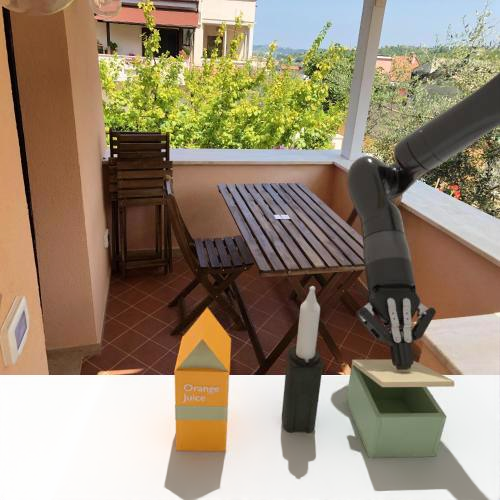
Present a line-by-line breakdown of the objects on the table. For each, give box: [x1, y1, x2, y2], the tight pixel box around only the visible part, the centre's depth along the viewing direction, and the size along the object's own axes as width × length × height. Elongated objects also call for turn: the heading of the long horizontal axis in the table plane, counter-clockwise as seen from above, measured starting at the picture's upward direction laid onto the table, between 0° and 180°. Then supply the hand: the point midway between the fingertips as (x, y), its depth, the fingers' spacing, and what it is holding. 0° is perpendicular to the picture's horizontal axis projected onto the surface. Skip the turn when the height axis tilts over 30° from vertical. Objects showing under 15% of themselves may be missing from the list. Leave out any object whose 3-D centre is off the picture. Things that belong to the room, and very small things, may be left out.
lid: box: [351, 359, 455, 388], centre depth 67 cm, size 13×11×1 cm
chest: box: [345, 363, 447, 459], centre depth 70 cm, size 13×11×8 cm
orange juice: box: [173, 307, 232, 452], centre depth 65 cm, size 8×9×20 cm
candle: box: [281, 285, 324, 434], centre depth 67 cm, size 5×5×25 cm
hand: (404, 369), depth 65 cm, fingers closed
